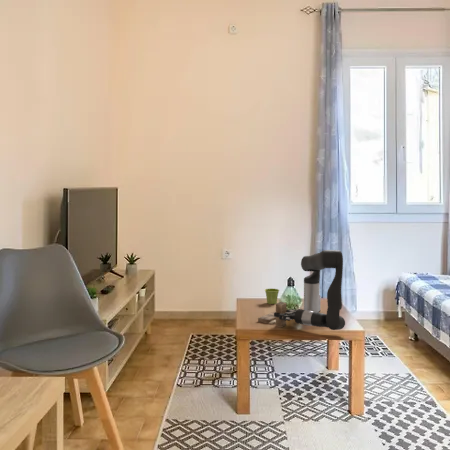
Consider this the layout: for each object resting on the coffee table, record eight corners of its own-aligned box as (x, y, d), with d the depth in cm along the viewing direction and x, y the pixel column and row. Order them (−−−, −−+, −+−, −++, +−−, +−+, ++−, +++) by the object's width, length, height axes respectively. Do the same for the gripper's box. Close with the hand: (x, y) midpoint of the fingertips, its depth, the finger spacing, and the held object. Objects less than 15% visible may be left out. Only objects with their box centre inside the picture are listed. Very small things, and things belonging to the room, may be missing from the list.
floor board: (275, 314, 274) (275, 311, 274) (289, 317, 269) (289, 313, 269) (257, 321, 260) (257, 317, 260) (272, 324, 254) (272, 320, 254)
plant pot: (282, 303, 304) (282, 289, 303) (272, 305, 297) (272, 292, 297) (271, 301, 311) (271, 287, 310) (261, 303, 304) (261, 290, 303)
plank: (286, 325, 253) (286, 302, 252) (281, 327, 249) (281, 304, 248) (280, 323, 255) (280, 301, 254) (275, 326, 251) (275, 303, 250)
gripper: (312, 307, 248) (285, 303, 258) (299, 313, 237) (271, 308, 247) (312, 321, 249) (285, 316, 258) (299, 327, 237) (271, 322, 247)
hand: (278, 312), depth 253 cm, fingers open, 8 cm apart
